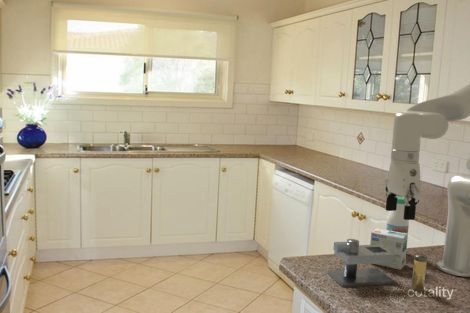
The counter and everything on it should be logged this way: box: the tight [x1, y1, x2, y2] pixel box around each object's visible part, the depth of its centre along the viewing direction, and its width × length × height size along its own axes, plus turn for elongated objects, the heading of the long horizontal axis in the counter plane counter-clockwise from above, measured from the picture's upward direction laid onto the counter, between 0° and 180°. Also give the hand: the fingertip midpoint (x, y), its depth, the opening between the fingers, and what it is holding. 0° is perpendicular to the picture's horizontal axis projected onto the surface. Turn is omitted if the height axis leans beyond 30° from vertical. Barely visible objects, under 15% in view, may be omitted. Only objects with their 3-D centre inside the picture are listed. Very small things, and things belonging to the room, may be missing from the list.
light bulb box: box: [369, 227, 409, 271], centre depth 160 cm, size 11×7×11 cm, turn 59°
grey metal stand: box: [327, 238, 396, 288], centre depth 145 cm, size 18×10×12 cm, turn 104°
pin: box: [410, 253, 428, 292], centre depth 140 cm, size 3×3×10 cm
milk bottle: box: [384, 196, 410, 240], centre depth 171 cm, size 8×8×20 cm
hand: (399, 214), depth 140 cm, fingers open, 9 cm apart
